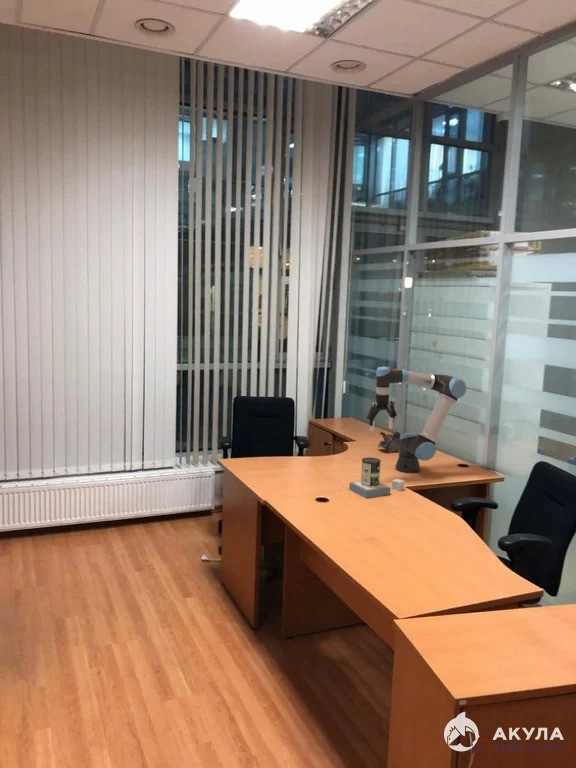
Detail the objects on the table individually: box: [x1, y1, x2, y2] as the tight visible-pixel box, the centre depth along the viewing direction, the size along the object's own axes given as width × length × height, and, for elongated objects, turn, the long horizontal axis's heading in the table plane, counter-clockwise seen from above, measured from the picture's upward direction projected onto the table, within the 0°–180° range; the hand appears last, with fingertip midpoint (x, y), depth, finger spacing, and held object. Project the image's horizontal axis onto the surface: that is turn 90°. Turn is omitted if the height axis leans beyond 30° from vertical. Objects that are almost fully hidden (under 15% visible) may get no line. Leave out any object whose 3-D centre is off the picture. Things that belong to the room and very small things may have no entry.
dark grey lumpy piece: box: [377, 431, 402, 453], centre depth 433 cm, size 14×15×20 cm
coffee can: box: [360, 456, 382, 487], centre depth 343 cm, size 10×10×14 cm
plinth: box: [348, 480, 391, 499], centre depth 345 cm, size 16×16×4 cm
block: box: [391, 478, 405, 492], centre depth 351 cm, size 5×5×5 cm
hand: (381, 429), depth 364 cm, fingers open, 13 cm apart
